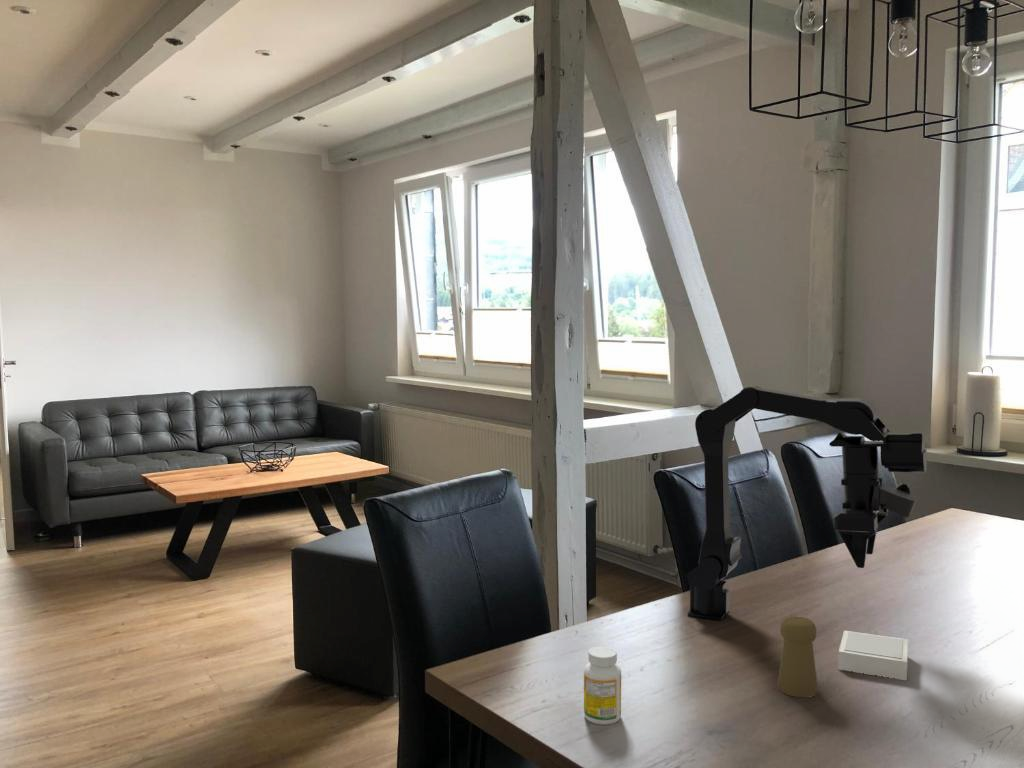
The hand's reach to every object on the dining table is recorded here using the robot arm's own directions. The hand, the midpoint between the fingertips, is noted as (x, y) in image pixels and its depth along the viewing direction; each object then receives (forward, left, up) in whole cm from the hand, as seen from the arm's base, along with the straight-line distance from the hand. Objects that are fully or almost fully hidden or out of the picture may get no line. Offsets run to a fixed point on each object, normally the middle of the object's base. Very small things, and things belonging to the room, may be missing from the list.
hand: (865, 560), depth 148 cm
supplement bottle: (-32, -46, -15) cm, 57 cm away
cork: (-8, -25, -15) cm, 30 cm away
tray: (+2, -10, -14) cm, 17 cm away
